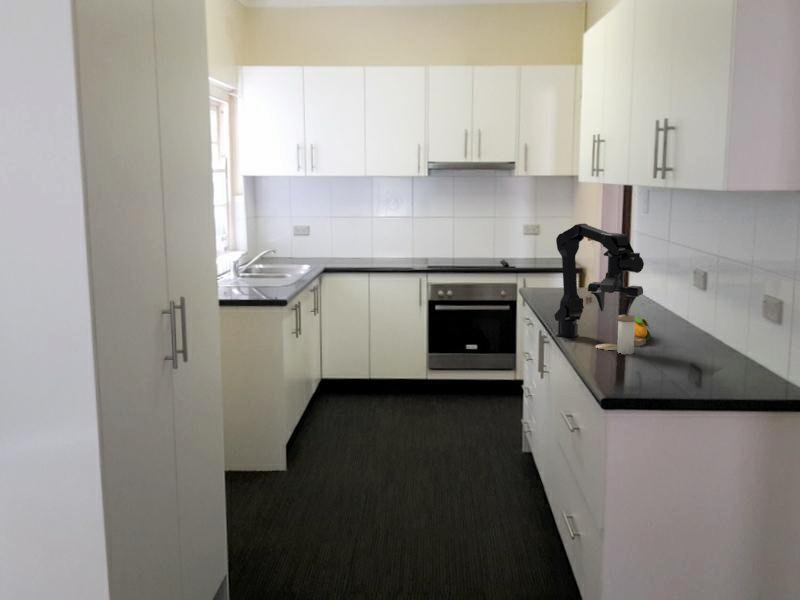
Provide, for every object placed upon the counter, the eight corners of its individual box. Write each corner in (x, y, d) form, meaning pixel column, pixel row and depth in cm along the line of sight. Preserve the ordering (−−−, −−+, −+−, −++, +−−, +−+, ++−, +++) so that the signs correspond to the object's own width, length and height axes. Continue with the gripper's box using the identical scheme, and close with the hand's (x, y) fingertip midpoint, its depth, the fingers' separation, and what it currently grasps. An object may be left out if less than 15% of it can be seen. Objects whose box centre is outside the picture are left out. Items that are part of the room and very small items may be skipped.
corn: (645, 313, 319) (654, 323, 300) (646, 333, 321) (654, 344, 301) (626, 315, 321) (633, 324, 301) (627, 334, 322) (633, 345, 302)
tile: (623, 344, 302) (623, 339, 302) (629, 341, 307) (630, 336, 306) (639, 346, 298) (639, 341, 298) (645, 343, 303) (645, 338, 303)
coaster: (591, 348, 296) (591, 347, 296) (602, 344, 303) (602, 342, 303) (615, 351, 291) (615, 350, 291) (625, 347, 298) (625, 345, 298)
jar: (614, 353, 289) (615, 316, 286) (620, 350, 293) (622, 314, 291) (630, 355, 285) (631, 318, 283) (636, 352, 289) (637, 315, 287)
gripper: (581, 270, 293) (580, 313, 296) (632, 274, 282) (630, 319, 285) (595, 266, 302) (593, 308, 305) (644, 270, 291) (642, 314, 293)
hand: (614, 312), depth 297 cm, fingers open, 9 cm apart
